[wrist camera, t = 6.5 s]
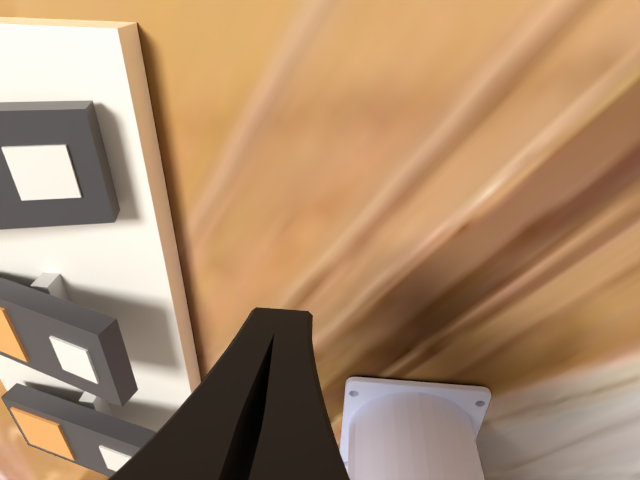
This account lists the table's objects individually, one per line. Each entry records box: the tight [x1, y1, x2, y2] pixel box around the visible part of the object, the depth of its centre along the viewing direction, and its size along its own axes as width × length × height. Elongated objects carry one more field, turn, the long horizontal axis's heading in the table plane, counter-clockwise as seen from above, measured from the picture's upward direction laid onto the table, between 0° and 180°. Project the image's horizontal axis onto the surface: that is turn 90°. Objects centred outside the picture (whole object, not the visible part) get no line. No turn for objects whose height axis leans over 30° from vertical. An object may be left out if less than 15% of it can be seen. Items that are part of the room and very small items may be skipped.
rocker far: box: [1, 383, 156, 477], centre depth 24 cm, size 4×9×1 cm, turn 89°
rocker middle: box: [0, 277, 138, 407], centre depth 20 cm, size 4×9×1 cm, turn 89°
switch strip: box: [0, 17, 201, 433], centre depth 22 cm, size 25×11×2 cm, turn 179°
